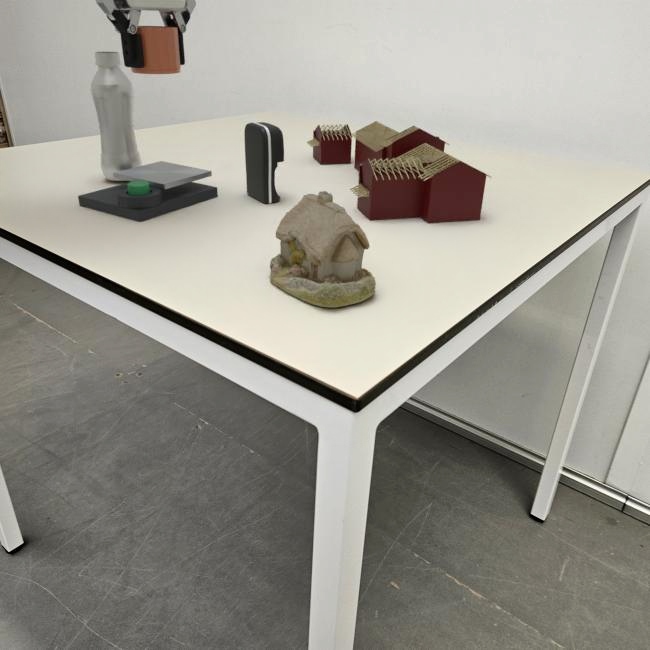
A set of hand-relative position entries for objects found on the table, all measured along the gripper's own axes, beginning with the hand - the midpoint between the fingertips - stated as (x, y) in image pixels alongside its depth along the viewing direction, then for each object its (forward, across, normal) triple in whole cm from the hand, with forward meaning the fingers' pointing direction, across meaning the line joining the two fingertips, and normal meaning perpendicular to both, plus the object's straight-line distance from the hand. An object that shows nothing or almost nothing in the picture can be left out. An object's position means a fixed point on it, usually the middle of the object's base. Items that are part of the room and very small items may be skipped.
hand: (155, 64), depth 82 cm
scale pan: (+16, -3, -4) cm, 17 cm away
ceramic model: (+20, +10, +34) cm, 41 cm away
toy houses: (+20, -32, +19) cm, 42 cm away
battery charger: (+20, -12, +9) cm, 25 cm away
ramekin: (+1, 0, 0) cm, 1 cm away
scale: (+20, 0, -4) cm, 20 cm away
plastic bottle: (+20, -6, -17) cm, 27 cm away
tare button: (+17, +5, 0) cm, 18 cm away
